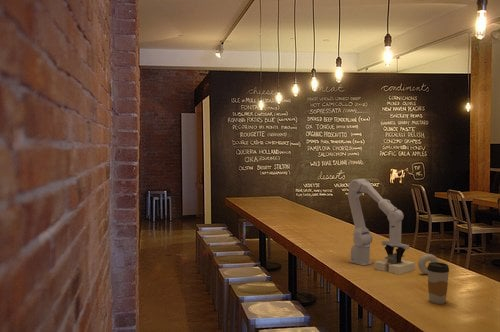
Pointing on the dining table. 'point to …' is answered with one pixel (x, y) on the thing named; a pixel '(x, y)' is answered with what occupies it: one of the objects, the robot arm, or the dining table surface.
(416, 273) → the dining table surface
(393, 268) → the chassis
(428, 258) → the donut
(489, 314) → the dining table surface
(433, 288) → the coffee cup
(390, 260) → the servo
